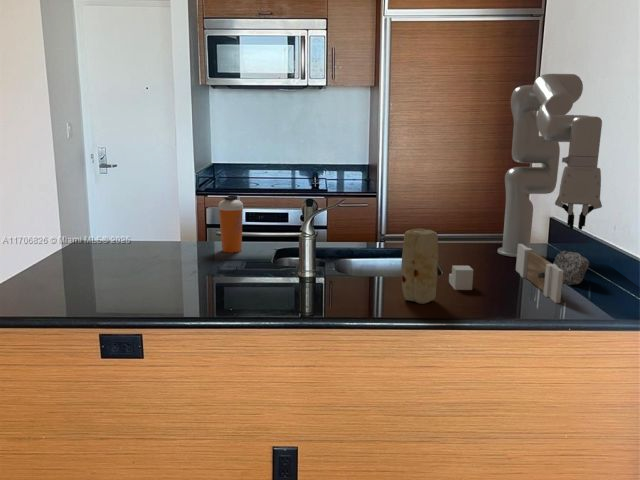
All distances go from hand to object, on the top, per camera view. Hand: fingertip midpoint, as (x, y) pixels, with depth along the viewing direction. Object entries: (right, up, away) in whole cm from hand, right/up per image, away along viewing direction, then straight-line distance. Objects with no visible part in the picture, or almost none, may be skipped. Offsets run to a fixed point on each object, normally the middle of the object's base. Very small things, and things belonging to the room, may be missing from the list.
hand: (575, 228), depth 163 cm
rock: (+5, -16, +17) cm, 24 cm away
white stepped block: (-30, -17, +11) cm, 36 cm away
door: (-7, -17, +11) cm, 22 cm away
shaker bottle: (-104, -7, +52) cm, 116 cm away
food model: (-45, -20, -3) cm, 49 cm away
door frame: (-7, -17, +12) cm, 22 cm away
